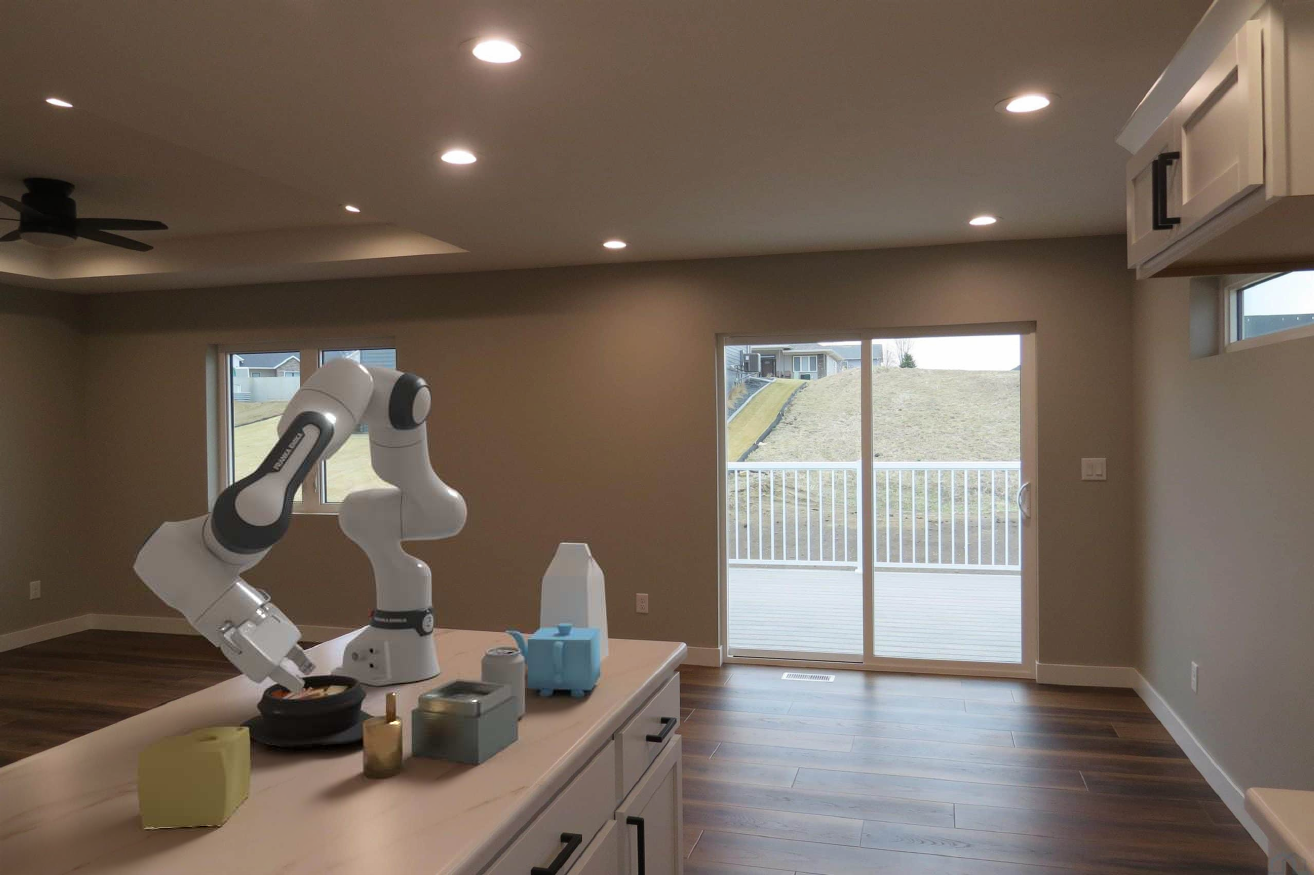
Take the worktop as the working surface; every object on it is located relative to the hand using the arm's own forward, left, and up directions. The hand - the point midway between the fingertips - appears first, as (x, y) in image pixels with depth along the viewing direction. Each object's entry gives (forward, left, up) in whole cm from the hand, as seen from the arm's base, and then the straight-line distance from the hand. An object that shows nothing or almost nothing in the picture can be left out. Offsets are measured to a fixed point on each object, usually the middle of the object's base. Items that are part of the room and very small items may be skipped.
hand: (306, 679), depth 128 cm
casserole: (-12, +15, -15) cm, 24 cm away
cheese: (-5, -14, -15) cm, 21 cm away
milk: (+8, +73, -15) cm, 75 cm away
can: (+13, +34, -15) cm, 39 cm away
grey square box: (+15, +19, -14) cm, 28 cm away
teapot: (+13, +52, -15) cm, 55 cm away
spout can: (+9, +6, -14) cm, 18 cm away
